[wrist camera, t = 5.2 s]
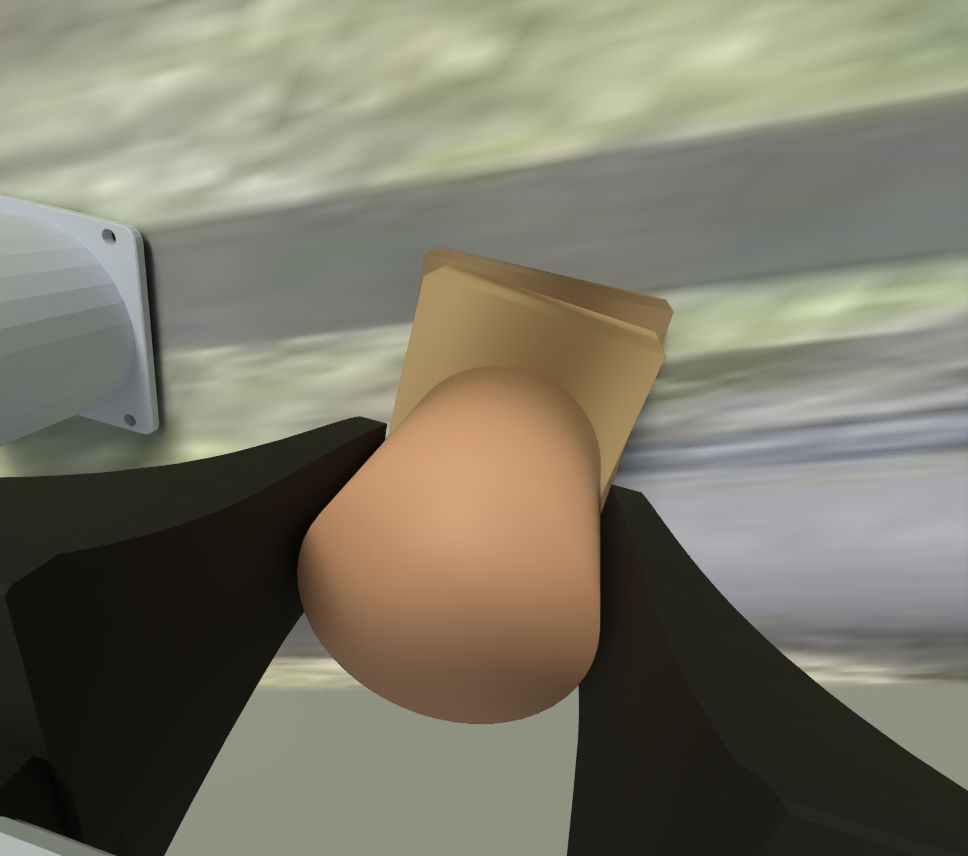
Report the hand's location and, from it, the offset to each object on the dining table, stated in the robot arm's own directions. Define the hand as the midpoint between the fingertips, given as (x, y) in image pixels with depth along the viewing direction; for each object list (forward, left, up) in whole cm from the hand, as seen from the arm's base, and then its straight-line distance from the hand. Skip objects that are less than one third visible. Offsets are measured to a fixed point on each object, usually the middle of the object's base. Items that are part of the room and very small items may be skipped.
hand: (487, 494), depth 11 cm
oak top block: (0, 0, -6) cm, 6 cm away
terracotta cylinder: (0, 0, -2) cm, 2 cm away
